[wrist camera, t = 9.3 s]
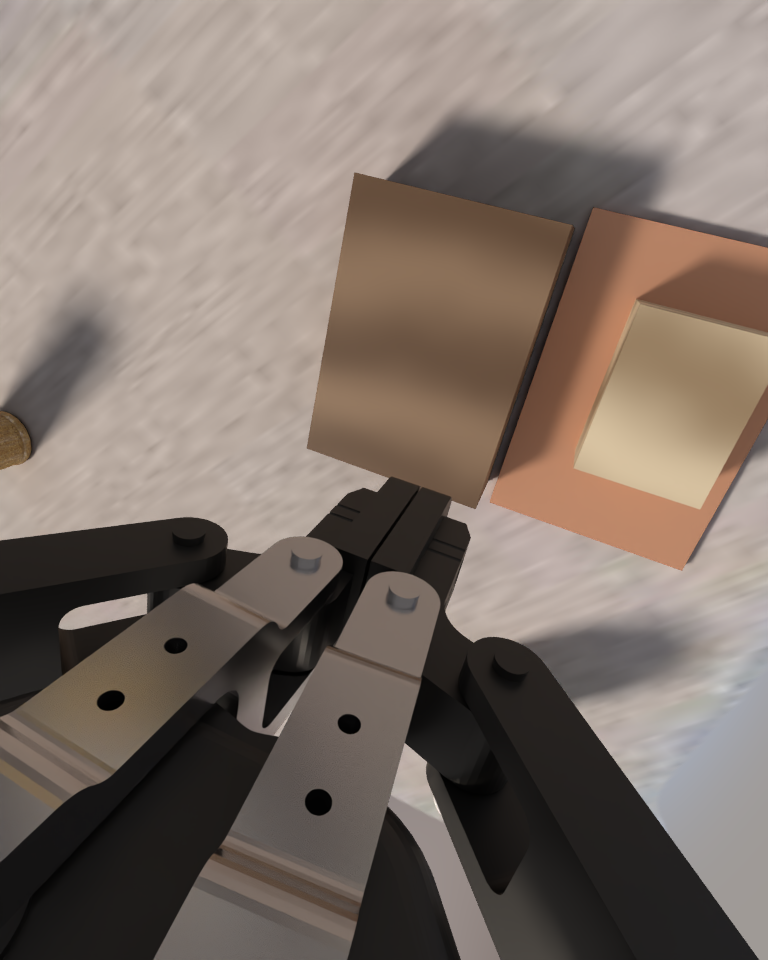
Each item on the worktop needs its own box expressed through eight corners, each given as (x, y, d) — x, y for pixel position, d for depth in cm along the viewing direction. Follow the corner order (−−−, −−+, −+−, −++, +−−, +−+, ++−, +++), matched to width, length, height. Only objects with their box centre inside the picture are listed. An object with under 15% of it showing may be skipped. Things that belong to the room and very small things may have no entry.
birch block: (790, 342, 23) (769, 333, 25) (640, 304, 24) (635, 298, 27) (700, 509, 26) (690, 485, 29) (573, 468, 28) (575, 449, 30)
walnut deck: (383, 181, 29) (354, 172, 25) (574, 228, 27) (572, 225, 23) (335, 428, 35) (306, 448, 32) (487, 481, 33) (475, 509, 29)
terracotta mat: (593, 207, 26) (593, 207, 26) (848, 267, 24) (853, 267, 24) (490, 498, 33) (489, 502, 33) (680, 566, 31) (681, 570, 31)
